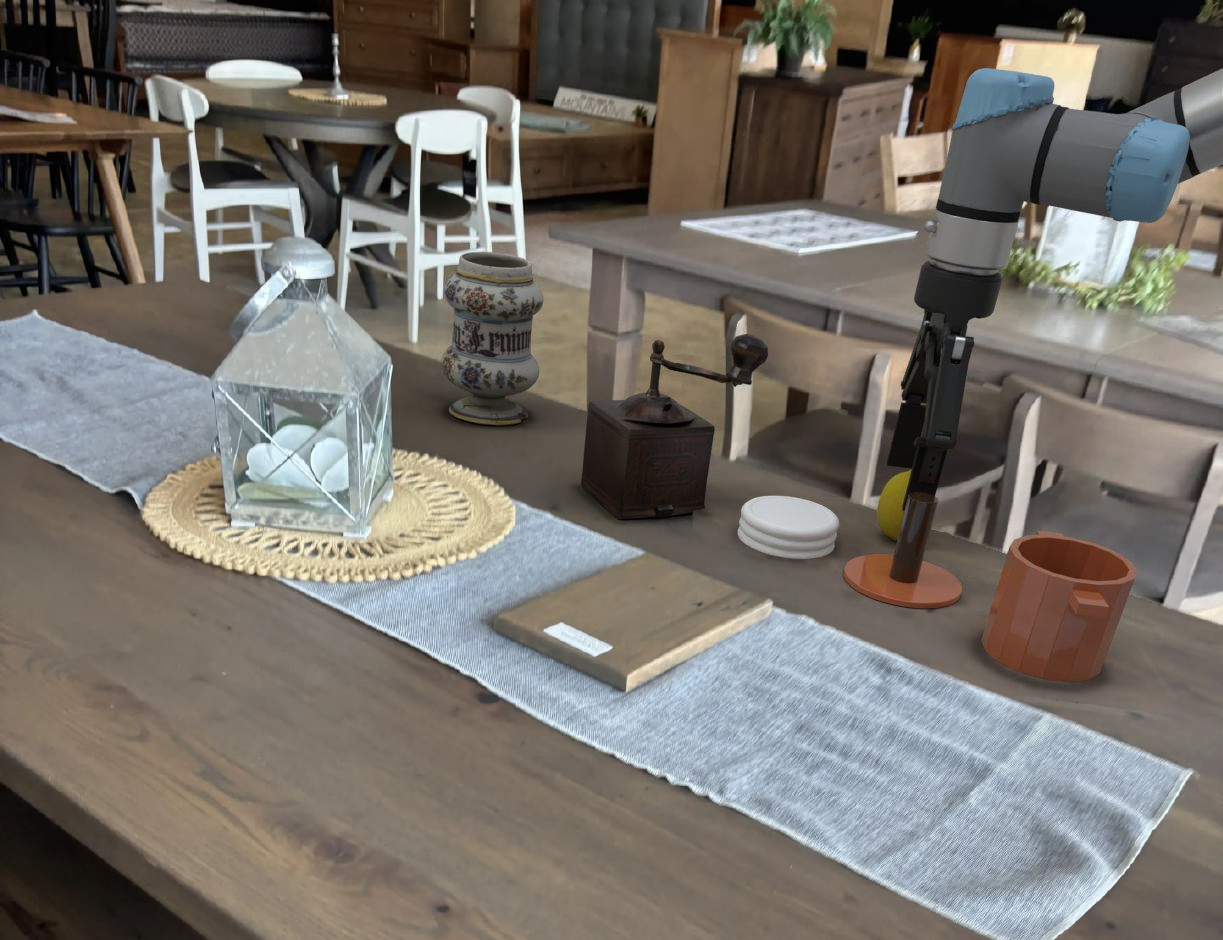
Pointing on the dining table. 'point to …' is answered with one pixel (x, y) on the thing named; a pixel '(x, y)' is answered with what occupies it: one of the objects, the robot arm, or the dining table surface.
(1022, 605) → the pot
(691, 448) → the coffee grinder
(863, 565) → the lid
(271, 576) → the dining table surface
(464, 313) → the apothecary jar
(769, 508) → the white stacked discs
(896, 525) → the lemon
